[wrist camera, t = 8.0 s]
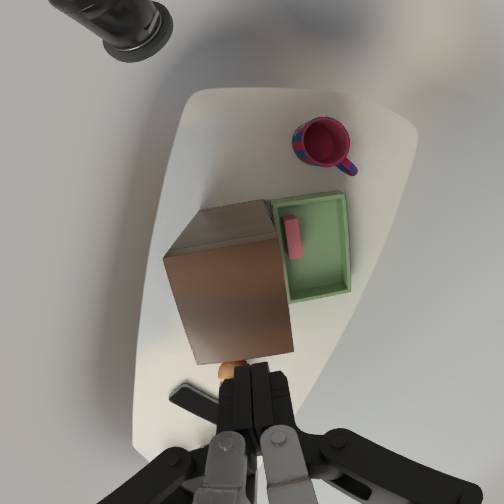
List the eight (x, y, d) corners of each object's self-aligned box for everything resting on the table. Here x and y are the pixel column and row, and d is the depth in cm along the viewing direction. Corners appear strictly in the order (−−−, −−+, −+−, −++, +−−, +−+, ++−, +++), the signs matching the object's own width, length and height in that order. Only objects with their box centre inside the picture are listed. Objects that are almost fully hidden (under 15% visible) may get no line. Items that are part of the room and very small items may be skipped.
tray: (270, 200, 43) (272, 204, 40) (337, 190, 43) (345, 193, 40) (284, 294, 49) (287, 304, 45) (344, 282, 48) (351, 291, 45)
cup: (314, 113, 39) (326, 107, 33) (355, 162, 42) (373, 164, 35) (282, 141, 41) (289, 138, 34) (326, 189, 43) (340, 195, 37)
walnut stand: (198, 210, 44) (162, 258, 24) (262, 199, 43) (278, 237, 24) (214, 281, 48) (197, 365, 28) (274, 271, 47) (294, 352, 27)
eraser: (294, 214, 44) (281, 216, 44) (297, 218, 41) (284, 221, 41) (299, 250, 46) (287, 253, 46) (302, 257, 43) (289, 259, 43)
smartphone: (220, 426, 59) (166, 399, 56) (220, 423, 60) (167, 396, 57) (239, 413, 58) (183, 384, 54) (239, 410, 59) (184, 381, 55)
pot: (254, 350, 53) (223, 343, 52) (260, 379, 46) (225, 373, 44) (243, 370, 55) (213, 364, 53) (248, 400, 48) (214, 394, 46)
